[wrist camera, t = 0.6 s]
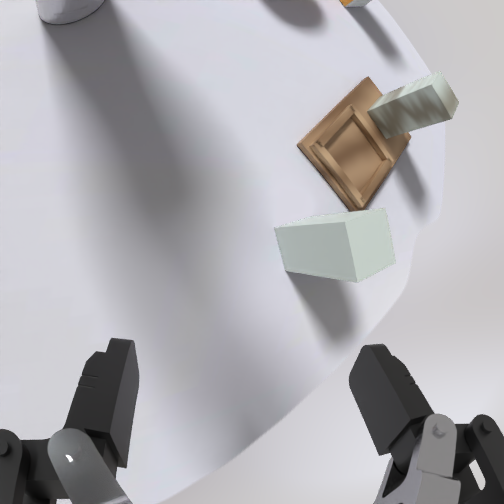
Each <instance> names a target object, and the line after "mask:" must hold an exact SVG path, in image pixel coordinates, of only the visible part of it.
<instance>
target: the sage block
mask: <svg viewBox="0 0 504 504" xmlns="http://www.w3.org/2000/svg"><path fill="white" fill-rule="evenodd" d="M274 230H275V233H276V237H277V241H278V245H279V248H280V252H281V256H282V260H283V264H284V268H285V271H289V272H295V273H301V274H307V275H313V276H319V277H325V278H331V279H337V280H343V281H349V282H356V283H358V282H360V281H362V280H364V279H366V278H368V277H370V276H372V275H374V274H376V273H378V272H380V271H381V270H383V269H385V268H387V267H389V266H391V265H393V264H395V263H396V261H395V255H394V249H393V244H392V238H391V233H390V228H389V223H388V218H387V213H386V209H385V208H380V209H371V210H362V211H353V212H344V213H336V214H328V215H319V216H311V217H307V218H304V219H301V220H298V221H294V222H291V223H288V224H285V225H281V226H278V227H275V228H274Z"/></svg>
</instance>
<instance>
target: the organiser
mask: <svg viewBox="0 0 504 504" xmlns="http://www.w3.org/2000/svg"><path fill="white" fill-rule="evenodd" d="M458 104H459V102H458V100H457V98H456V97H455V95H454V93H453V91H452V89H451V88H450V86H449V85H448V83H447V81H446V80H445V78H444V76H443V75H442V73H441V72H440V71H438V72H436V73H433V74H431V75H428V76H426V77H424V78H421V79H419V80H417V81H414V82H412V83H410V84H407V85H405V86H403V87H400V88H398V89H396V90H394V91H391V92H389V93H387V94H385V95H382V93H381V92H380V91H379V89H378V88H377V87H376V85H375V84H374V83H373V82H372V80H371V79H370V78H369V76H368V77H366V78H365V79H363V80H362V81H361V82H360V83H359V84H358V85H357V86H356V87H355V88H354V89H353V90H352V91H351V92H350V93H349V94H348V95H347V96H346V97H344V98H343V99H342V100H341V101H340V102H339V103H338V104H337V105H336V106H335V107H334V108H333V109H332V110H331V111H330V112H329V113H328V114H327V115H326V116H325V117H324V118H323V119H322V120H321V121H320V122H319V123H318V124H317V125H316V126H315V127H314V128H313V129H312V130H311V131H310V132H309V133H308V134H307V135H306V136H305V137H304V138H303V139H302V140H301V141H300V142H299V143H298V144H297V146H298V147H299V148H300V149H301V150H302V152H303V153H304V154H305V155H306V156H307V158H308V159H309V160H310V161H311V162H312V163H313V165H314V166H315V167H316V168H317V170H318V171H319V172H320V173H321V174H322V176H323V177H324V178H325V179H326V181H327V182H328V183H329V184H330V186H331V187H332V188H333V189H334V191H335V192H336V193H337V194H338V196H339V197H340V198H341V200H342V201H343V202H344V204H345V205H346V206H347V207H348V209H349V210H350V211H351V212H353V211H362V210H364V209H365V208H366V206H367V205H368V203H369V202H370V200H371V199H372V197H373V196H374V195H375V193H376V192H377V190H378V189H379V187H380V186H381V184H382V182H383V181H384V179H385V178H386V176H387V175H388V173H389V172H390V170H391V169H392V167H393V166H394V164H395V162H396V161H397V159H398V158H399V156H400V155H401V153H402V151H403V150H404V148H405V147H406V145H407V143H408V142H409V140H410V139H411V136H410V134H409V133H408V132H410V131H413V130H416V129H419V128H423V127H426V126H429V125H433V124H436V123H440V122H443V121H446V120H450V119H452V118H453V115H454V113H455V111H456V108H457V106H458Z"/></svg>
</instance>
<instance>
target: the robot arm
mask: <svg viewBox="0 0 504 504" xmlns="http://www.w3.org/2000/svg"><path fill="white" fill-rule="evenodd" d="M103 2H104V0H36V4H37V8H38V13H39V16H40V18H41V19H42V20H43V21H45V22H47V23H50V24H66V23H70V22H74V21H77V20H80V19H82V18H84V17H86V16H88V15H89V14H91V13H93V12H94V11H95V10H96V9H98V8H99V7H100V6H101V4H102V3H103ZM349 386H350V389H351V391H352V394H353V395H354V398H355V400H356V403H357V405H358V407H359V409H360V412H361V414H362V416H363V419H364V421H365V423H366V426H367V428H368V430H369V433H370V435H371V438H372V440H373V442H374V445H375V447H376V449H377V452H378V454H379V456H380V455H384V454H387V453H391V455H392V458H391V459H390V460H389V463H388V466H387V469H386V472H385V475H384V478H383V481H382V484H381V486H380V489H379V492H378V495H377V497H376V500H375V502H374V503H373V504H504V436H503V434H502V433H501V431H500V429H499V427H498V426H497V424H496V423H495V421H494V420H493V419H492V418H491V417H489V416H487V415H483V414H481V415H477V416H476V417H475V418H474V419H473V420H472V422H470V424H454V423H453V421H452V420H451V419H450V418H448V417H447V416H445V415H442V414H435V413H434V412H433V410H432V409H431V407H430V406H429V404H428V402H427V400H426V399H425V397H424V395H423V394H422V392H421V390H420V389H419V387H418V385H416V384H415V381H414V379H413V377H412V376H410V373H409V371H408V370H407V368H406V366H405V365H404V364H403V363H402V362H401V361H400V360H399V359H397V358H396V357H395V356H392V355H391V353H390V352H389V350H388V349H387V347H386V346H385V345H384V344H373V345H365V346H363V347H362V349H361V351H360V353H359V355H358V357H357V360H356V362H355V364H354V366H353V368H352V370H351V372H350V376H349ZM138 388H139V369H138V363H137V356H136V350H135V343H134V341H133V340H126V339H118V338H111V340H110V342H109V345H108V348H107V351H106V353H105V352H98V351H96V352H95V353H94V354H93V355H92V356H91V357H90V358H89V359H88V360H87V361H86V364H85V366H84V369H83V372H82V376H81V377H80V380H79V383H78V387H77V389H76V392H75V395H74V398H73V401H72V404H71V407H70V410H69V413H68V417H67V420H66V423H65V425H64V427H63V429H62V430H60V431H58V432H56V433H55V434H54V435H53V436H52V437H51V438H49V439H43V440H20V439H19V438H18V437H17V436H16V435H15V434H14V433H13V432H11V431H9V430H6V429H0V504H56V501H57V499H70V500H71V502H72V504H133V503H132V502H131V501H130V499H129V498H128V497H127V495H126V494H125V492H124V491H123V490H122V488H121V487H120V485H119V484H118V482H117V481H116V471H117V467H122V468H127V460H128V452H129V445H130V437H131V431H132V424H133V417H134V411H135V405H136V399H137V394H138ZM475 459H476V461H477V463H478V465H479V467H480V469H481V471H482V473H483V476H484V478H485V481H486V483H485V487H484V489H483V490H480V489H479V487H478V484H477V482H476V480H475V478H474V476H473V473H472V471H471V469H470V467H469V464H470V463H471V462H473V461H474V460H475Z"/></svg>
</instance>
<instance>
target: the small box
mask: <svg viewBox="0 0 504 504" xmlns="http://www.w3.org/2000/svg"><path fill="white" fill-rule="evenodd" d="M340 1H341V2H342V4H343V5H344V7H359V6H364V5H366V4H367V3H369V2H370V1H372V0H340Z"/></svg>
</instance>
